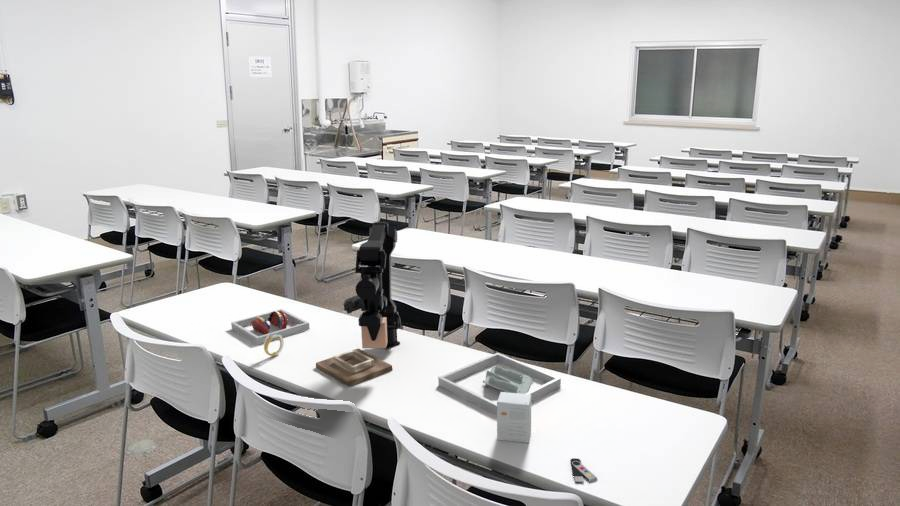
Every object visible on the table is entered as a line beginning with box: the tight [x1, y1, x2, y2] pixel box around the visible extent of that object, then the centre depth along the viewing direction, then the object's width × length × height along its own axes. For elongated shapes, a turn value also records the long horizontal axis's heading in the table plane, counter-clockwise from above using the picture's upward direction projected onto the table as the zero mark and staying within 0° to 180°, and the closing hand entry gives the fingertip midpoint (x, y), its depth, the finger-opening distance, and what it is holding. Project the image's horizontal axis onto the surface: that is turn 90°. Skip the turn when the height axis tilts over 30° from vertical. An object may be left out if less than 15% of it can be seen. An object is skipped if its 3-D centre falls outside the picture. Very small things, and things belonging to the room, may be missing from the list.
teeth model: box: [251, 310, 288, 335], centre depth 231 cm, size 8×6×12 cm
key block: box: [360, 317, 387, 349], centre depth 192 cm, size 7×4×8 cm, turn 89°
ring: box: [263, 331, 285, 357], centre depth 208 cm, size 7×3×8 cm, turn 137°
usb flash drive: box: [569, 457, 598, 483], centre depth 146 cm, size 9×5×1 cm, turn 175°
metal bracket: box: [482, 364, 535, 394], centre depth 186 cm, size 14×6×15 cm
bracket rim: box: [437, 352, 562, 415], centre depth 187 cm, size 25×25×2 cm
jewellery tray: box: [230, 308, 310, 346], centre depth 231 cm, size 20×20×2 cm
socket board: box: [315, 347, 393, 387], centre depth 199 cm, size 16×18×4 cm
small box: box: [496, 391, 532, 444], centre depth 160 cm, size 8×6×10 cm
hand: (374, 337), depth 192 cm, fingers closed on key block, 4 cm apart
